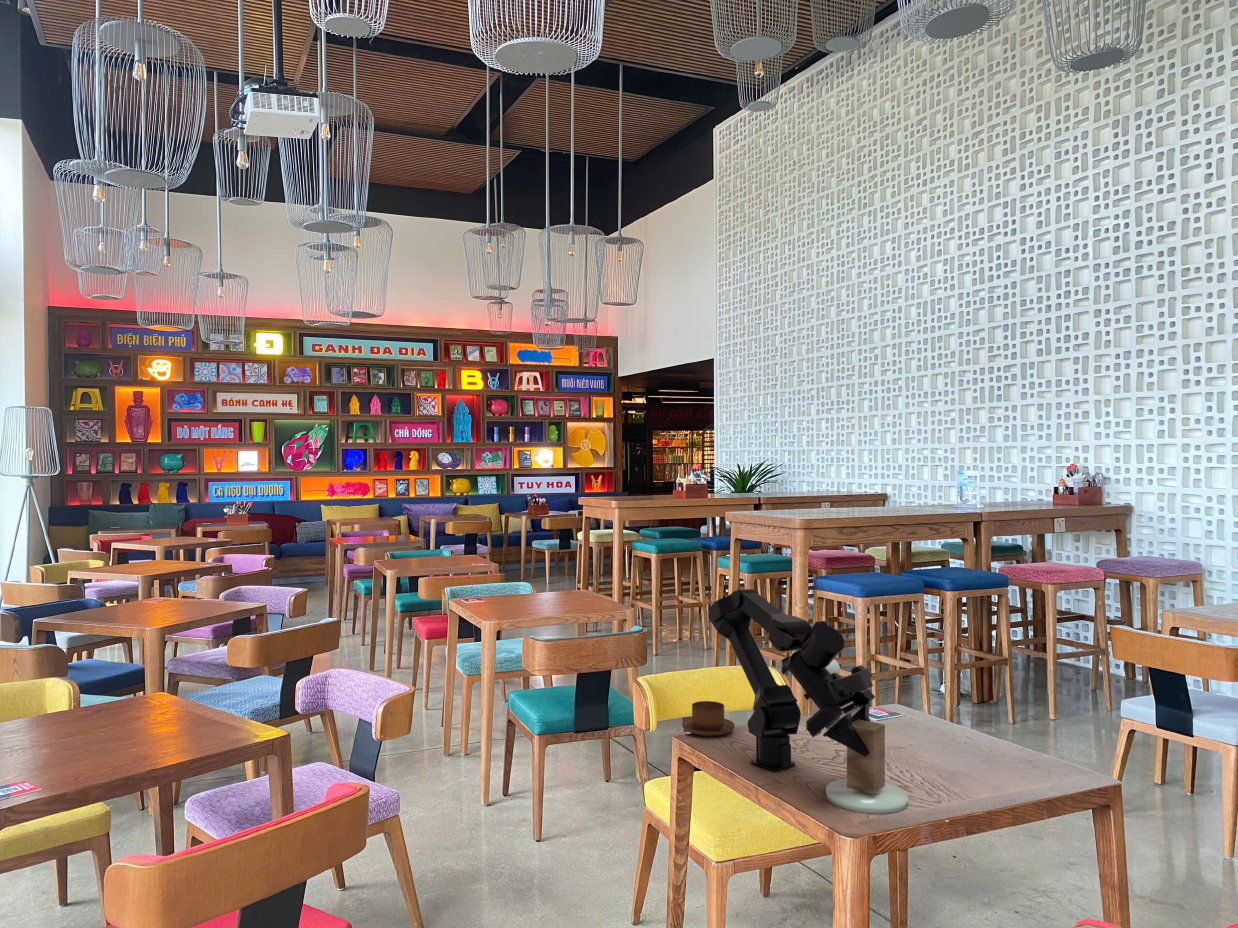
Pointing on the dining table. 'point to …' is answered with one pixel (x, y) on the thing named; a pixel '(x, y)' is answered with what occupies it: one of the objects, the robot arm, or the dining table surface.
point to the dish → (867, 798)
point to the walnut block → (867, 758)
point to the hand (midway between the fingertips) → (873, 750)
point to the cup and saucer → (708, 719)
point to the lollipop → (833, 667)
